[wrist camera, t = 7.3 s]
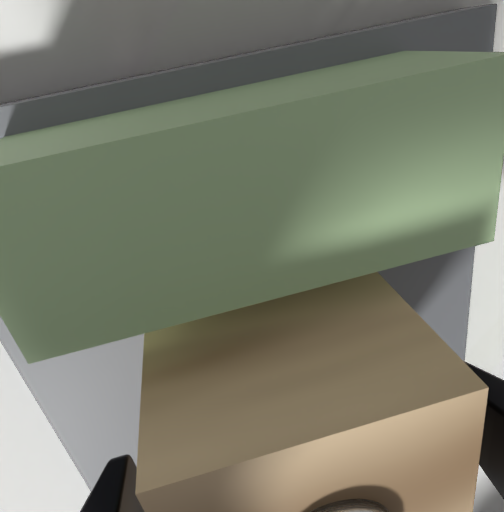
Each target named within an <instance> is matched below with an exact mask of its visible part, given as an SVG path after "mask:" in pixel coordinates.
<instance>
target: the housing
mask: <svg viewBox="0 0 504 512" xmlns="http://www.w3.org/2000/svg"><path fill="white" fill-rule="evenodd" d="M488 389H489V387H488V386H487V385H486V384H485V383H484V382H483V381H482V380H481V379H480V378H479V377H478V376H477V375H476V374H475V373H474V372H473V371H472V370H471V369H470V368H469V367H468V365H467V364H466V363H465V362H464V361H463V360H462V359H461V358H460V357H459V356H458V355H457V354H456V353H455V352H454V351H453V350H452V349H451V348H450V347H449V346H448V345H447V344H446V343H445V342H444V341H443V340H442V339H441V337H440V336H439V335H438V334H437V333H436V332H435V331H434V330H433V329H432V328H431V327H430V326H429V325H428V324H427V323H426V322H425V321H424V320H423V319H422V318H421V317H420V316H419V315H418V314H417V313H416V312H415V311H414V310H413V308H412V307H411V306H410V305H409V304H408V303H407V302H406V301H405V300H404V299H403V298H402V297H401V296H400V295H399V294H398V293H397V292H396V291H395V290H394V289H393V288H392V287H391V286H390V285H389V284H388V283H387V282H386V281H385V279H384V278H383V277H382V276H381V275H380V274H379V273H378V272H375V273H371V274H367V275H363V276H360V277H356V278H352V279H348V280H345V281H341V282H337V283H333V284H329V285H326V286H322V287H318V288H314V289H311V290H307V291H303V292H299V293H295V294H292V295H288V296H284V297H280V298H277V299H273V300H269V301H265V302H262V303H258V304H254V305H250V306H246V307H243V308H239V309H235V310H231V311H228V312H224V313H220V314H216V315H212V316H209V317H205V318H201V319H197V320H194V321H190V322H186V323H182V324H178V325H175V326H171V327H167V328H163V329H160V330H156V331H152V332H148V333H145V334H144V347H143V365H142V383H141V401H140V419H139V437H138V455H137V473H136V491H135V495H136V497H137V498H138V500H139V502H140V504H141V506H142V508H143V510H144V512H473V505H474V497H475V490H476V482H477V474H478V467H479V459H480V451H481V443H482V436H483V428H484V420H485V413H486V405H487V397H488Z"/></svg>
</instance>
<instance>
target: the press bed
mask: <svg viewBox="0 0 504 512" xmlns="http://www.w3.org/2000/svg"><path fill="white" fill-rule="evenodd" d="M496 10H497V4H491V5H483V6H475V7H467V8H462V9H457V10H452V11H447V12H442V13H438V14H433V15H428V16H423V17H418V18H414V19H409V20H404V21H399V22H394V23H390V24H385V25H380V26H375V27H370V28H365V29H361V30H356V31H351V32H346V33H341V34H337V35H332V36H327V37H322V38H317V39H313V40H308V41H303V42H298V43H293V44H289V45H284V46H279V47H274V48H269V49H264V50H260V51H255V52H250V53H245V54H240V55H236V56H231V57H226V58H221V59H216V60H212V61H207V62H202V63H197V64H192V65H187V66H183V67H178V68H173V69H168V70H163V71H159V72H154V73H149V74H144V75H139V76H135V77H130V78H125V79H120V80H115V81H111V82H106V83H101V84H96V85H91V86H86V87H82V88H77V89H72V90H67V91H62V92H58V93H53V94H48V95H43V96H38V97H34V98H29V99H24V100H19V101H14V102H10V103H5V104H0V341H1V343H2V345H3V346H4V348H5V350H6V351H7V353H8V355H9V356H10V358H11V360H12V361H13V363H14V365H15V366H16V368H17V370H18V371H19V373H20V375H21V376H22V378H23V380H24V381H25V383H26V385H27V386H28V388H29V389H30V391H31V393H32V394H33V396H34V398H35V399H36V401H37V403H38V404H39V406H40V408H41V409H42V411H43V413H44V414H45V416H46V418H47V419H48V421H49V423H50V424H51V426H52V428H53V429H54V431H55V433H56V434H57V436H58V438H59V439H60V441H61V442H62V444H63V446H64V447H65V449H66V451H67V452H68V454H69V456H70V457H71V459H72V461H73V462H74V464H75V466H76V467H77V469H78V471H79V472H80V474H81V476H82V477H83V479H84V481H85V482H86V484H87V486H88V487H89V489H90V491H92V489H93V487H94V486H95V484H96V482H97V480H98V478H99V477H100V475H101V473H102V471H103V469H104V468H105V466H106V464H107V463H108V461H109V460H110V459H112V458H115V457H119V456H122V455H126V454H128V455H130V456H131V457H132V459H133V461H134V463H135V465H136V467H137V455H138V437H139V419H140V401H141V383H142V365H143V347H144V334H145V333H148V332H152V331H156V330H160V329H163V328H167V327H171V326H175V325H178V324H182V323H186V322H190V321H194V320H197V319H201V318H205V317H209V316H212V315H216V314H220V313H224V312H228V311H231V310H235V309H239V308H243V307H246V306H250V305H254V304H258V303H262V302H265V301H269V300H273V299H277V298H280V297H284V296H288V295H292V294H295V293H299V292H303V291H307V290H311V289H314V288H318V287H322V286H326V285H329V284H333V283H337V282H341V281H345V280H348V279H352V278H356V277H360V276H363V275H367V274H371V273H375V272H378V273H379V274H380V275H381V276H382V277H383V278H384V279H385V281H386V282H387V283H388V284H389V285H390V286H391V287H392V288H393V289H394V290H395V291H396V292H397V293H398V294H399V295H400V296H401V297H402V298H403V299H404V300H405V301H406V302H407V303H408V304H409V305H410V306H411V307H412V308H413V310H414V311H415V312H416V313H417V314H418V315H419V316H420V317H421V318H422V319H423V320H424V321H425V322H426V323H427V324H428V325H429V326H430V327H431V328H432V329H433V330H434V331H435V332H436V333H437V334H438V335H439V336H440V337H441V339H442V340H443V341H444V342H445V343H446V344H447V345H448V346H449V347H450V348H451V349H452V350H453V351H454V352H455V353H456V354H457V355H458V356H459V357H460V358H461V359H462V360H463V361H464V360H465V349H466V338H467V327H468V316H469V306H470V295H471V284H472V273H473V262H474V251H475V246H477V245H480V244H484V243H488V242H492V241H494V235H495V226H496V218H497V209H498V200H499V192H500V183H501V174H502V166H503V157H504V52H493V42H494V32H495V21H496Z"/></svg>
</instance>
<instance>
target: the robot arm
mask: <svg viewBox="0 0 504 512" xmlns="http://www.w3.org/2000/svg"><path fill="white" fill-rule="evenodd" d="M464 362H465V361H464ZM465 363H466V364H467V365H468V367H469V368H470V369H471V370H472V371H473V372H474V373H475V374H476V375H477V376H478V377H479V378H480V379H481V380H482V381H483V382H484V383H485V384H486V385H487V386H488V387H489V389H488V397H487V405H486V413H485V420H484V428H483V436H482V443H481V451H480V459H479V465H480V466H481V468H482V469H483V471H484V472H485V474H486V475H487V476H488V478H489V479H490V481H491V482H492V483H493V485H494V486H495V487H496V489H497V490H498V492H499V493H500V494H501V496H502V497H503V499H504V380H502V379H500V378H498V377H496V376H494V375H492V374H490V373H488V372H486V371H484V370H482V369H479V368H477V367H475V366H473V365H471V364H469V363H467V362H465ZM136 473H137V467H136V465H135V463H134V461H133V459H132V457H131V456H130V455H128V454H126V455H122V456H119V457H115V458H112V459H110V460H109V461H108V463H107V464H106V466H105V468H104V469H103V471H102V473H101V475H100V477H99V478H98V480H97V482H96V484H95V486H94V487H93V489H92V491H91V493H90V495H89V496H88V498H87V500H86V502H85V504H84V505H83V507H82V509H81V511H80V512H144V510H143V508H142V506H141V504H140V502H139V500H138V498H137V497H136V495H135V491H136Z"/></svg>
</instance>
